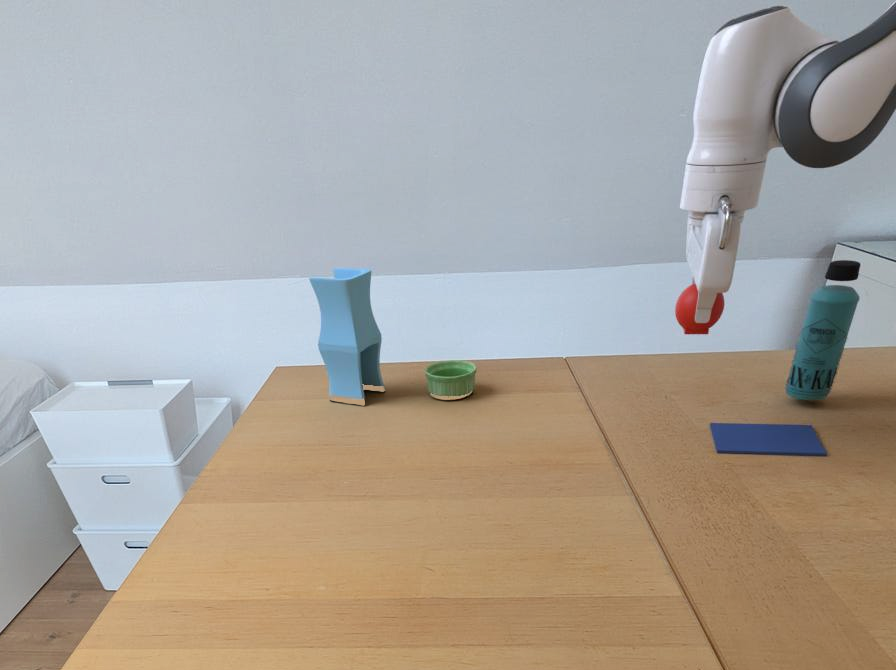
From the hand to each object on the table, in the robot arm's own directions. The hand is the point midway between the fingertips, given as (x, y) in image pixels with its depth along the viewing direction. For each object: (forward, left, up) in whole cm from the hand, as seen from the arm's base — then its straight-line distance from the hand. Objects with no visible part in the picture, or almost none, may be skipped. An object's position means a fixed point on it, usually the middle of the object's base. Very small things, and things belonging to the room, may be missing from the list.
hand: (698, 314), depth 92 cm
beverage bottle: (-20, -15, -17) cm, 30 cm away
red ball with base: (0, 0, -2) cm, 2 cm away
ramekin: (+37, -17, -17) cm, 44 cm away
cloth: (-12, 0, -17) cm, 21 cm away
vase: (+54, -15, -17) cm, 59 cm away
